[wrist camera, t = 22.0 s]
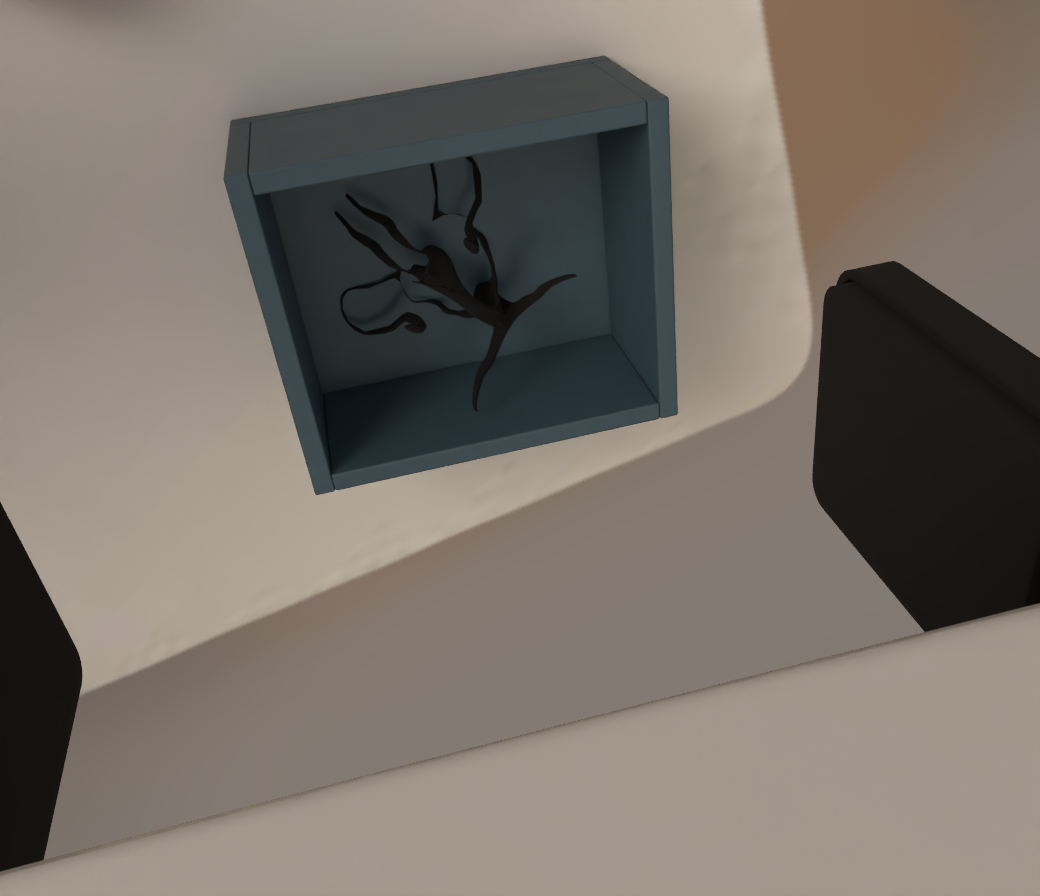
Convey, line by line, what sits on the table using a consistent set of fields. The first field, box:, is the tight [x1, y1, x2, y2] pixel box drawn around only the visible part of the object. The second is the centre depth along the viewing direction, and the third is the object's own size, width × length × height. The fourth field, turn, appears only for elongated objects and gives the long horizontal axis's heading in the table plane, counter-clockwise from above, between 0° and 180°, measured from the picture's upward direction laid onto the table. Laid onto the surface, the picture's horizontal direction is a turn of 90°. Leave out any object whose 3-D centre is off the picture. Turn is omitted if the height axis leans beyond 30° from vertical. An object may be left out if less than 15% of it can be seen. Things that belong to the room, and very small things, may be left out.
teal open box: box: [224, 56, 678, 495], centre depth 34 cm, size 13×11×7 cm
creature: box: [334, 156, 577, 411], centre depth 34 cm, size 8×5×8 cm
